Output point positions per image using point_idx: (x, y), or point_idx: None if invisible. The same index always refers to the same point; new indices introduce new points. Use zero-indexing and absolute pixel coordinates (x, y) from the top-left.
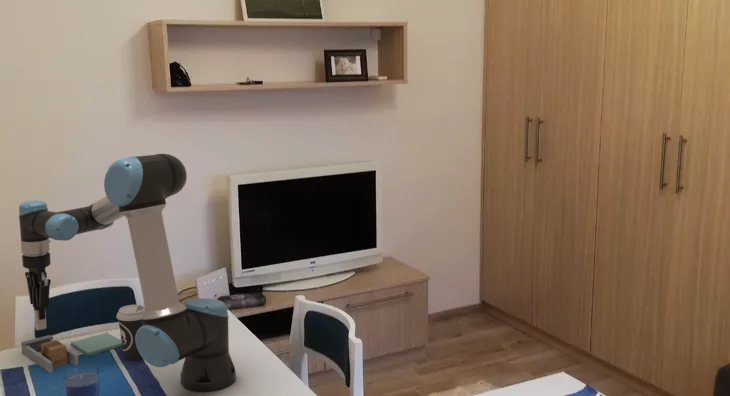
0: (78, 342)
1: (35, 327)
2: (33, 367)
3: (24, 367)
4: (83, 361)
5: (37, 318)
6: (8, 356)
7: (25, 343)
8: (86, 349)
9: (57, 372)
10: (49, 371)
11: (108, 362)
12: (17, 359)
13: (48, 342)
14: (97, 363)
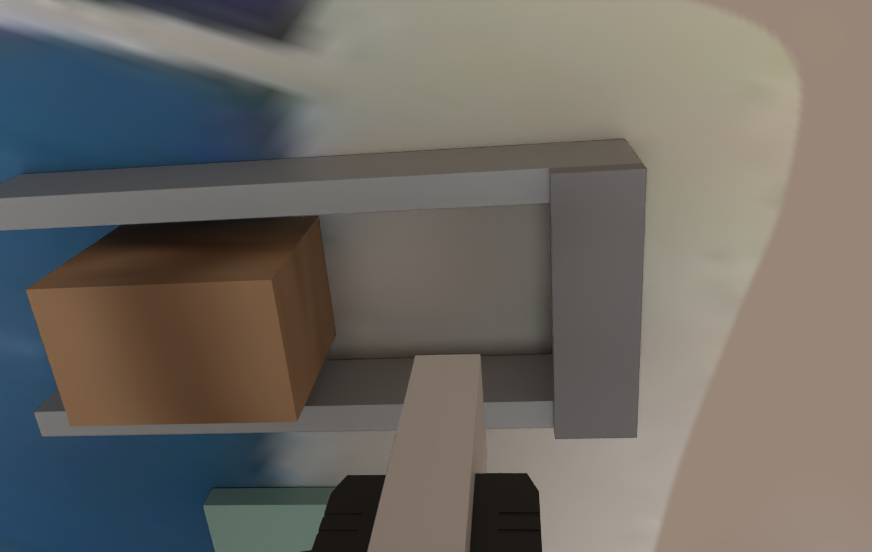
0: None
1: (472, 366)
2: (215, 111)
3: (260, 47)
4: None
5: (391, 468)
6: (647, 8)
7: (573, 191)
8: (276, 522)
9: None
10: (12, 178)
11: (25, 528)
12: (502, 56)
13: (268, 347)
14: (42, 478)
